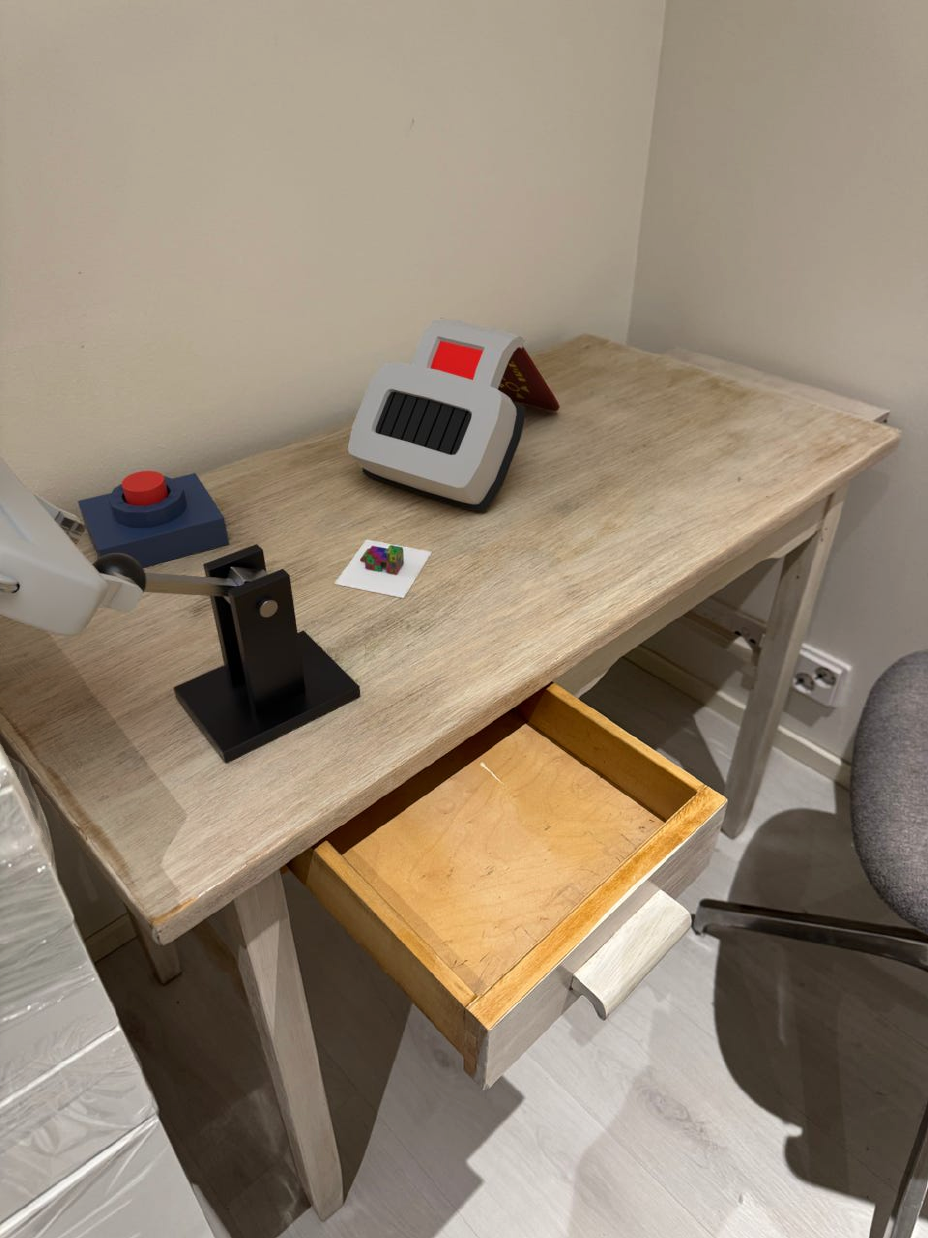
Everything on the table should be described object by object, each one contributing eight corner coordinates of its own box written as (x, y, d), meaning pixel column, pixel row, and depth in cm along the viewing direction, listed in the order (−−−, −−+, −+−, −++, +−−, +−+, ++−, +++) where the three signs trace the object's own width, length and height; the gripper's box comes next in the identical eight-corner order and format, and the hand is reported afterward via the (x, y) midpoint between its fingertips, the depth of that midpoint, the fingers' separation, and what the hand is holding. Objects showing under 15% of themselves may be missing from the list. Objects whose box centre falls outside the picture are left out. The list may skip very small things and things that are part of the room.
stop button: (130, 510, 86) (126, 495, 85) (121, 491, 88) (117, 476, 87) (172, 500, 87) (169, 484, 86) (162, 482, 90) (158, 466, 89)
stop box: (106, 577, 85) (93, 533, 82) (85, 527, 92) (72, 485, 89) (229, 544, 90) (221, 501, 86) (200, 498, 96) (192, 457, 93)
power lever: (93, 616, 57) (107, 566, 55) (73, 589, 59) (86, 540, 58) (269, 623, 66) (285, 580, 65) (247, 599, 68) (261, 557, 67)
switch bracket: (225, 764, 67) (195, 632, 59) (175, 697, 72) (141, 569, 64) (360, 696, 73) (349, 568, 65) (305, 640, 78) (288, 515, 70)
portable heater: (396, 288, 95) (540, 318, 89) (475, 384, 118) (594, 414, 112) (329, 456, 95) (469, 500, 88) (422, 520, 118) (538, 558, 111)
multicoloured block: (407, 558, 88) (406, 538, 86) (396, 574, 86) (395, 554, 84) (367, 550, 89) (366, 530, 87) (356, 566, 87) (354, 546, 85)
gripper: (-35, 508, 41) (202, 598, 51) (-136, 367, 53) (72, 463, 64) (-103, 623, 41) (145, 688, 52) (-187, 457, 53) (27, 537, 64)
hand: (104, 563), depth 58 cm, fingers open, 8 cm apart
